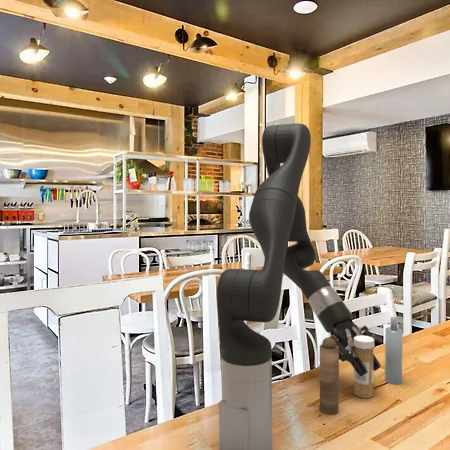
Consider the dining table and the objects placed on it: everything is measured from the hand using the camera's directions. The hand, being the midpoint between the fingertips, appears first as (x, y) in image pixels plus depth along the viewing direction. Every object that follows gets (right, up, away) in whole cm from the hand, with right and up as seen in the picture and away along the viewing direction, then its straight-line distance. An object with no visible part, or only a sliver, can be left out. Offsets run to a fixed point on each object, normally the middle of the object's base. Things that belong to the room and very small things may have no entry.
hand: (370, 371), depth 98 cm
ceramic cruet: (+9, -5, +9) cm, 14 cm away
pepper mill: (-11, -7, -5) cm, 14 cm away
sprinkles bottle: (-1, -6, +2) cm, 7 cm away
